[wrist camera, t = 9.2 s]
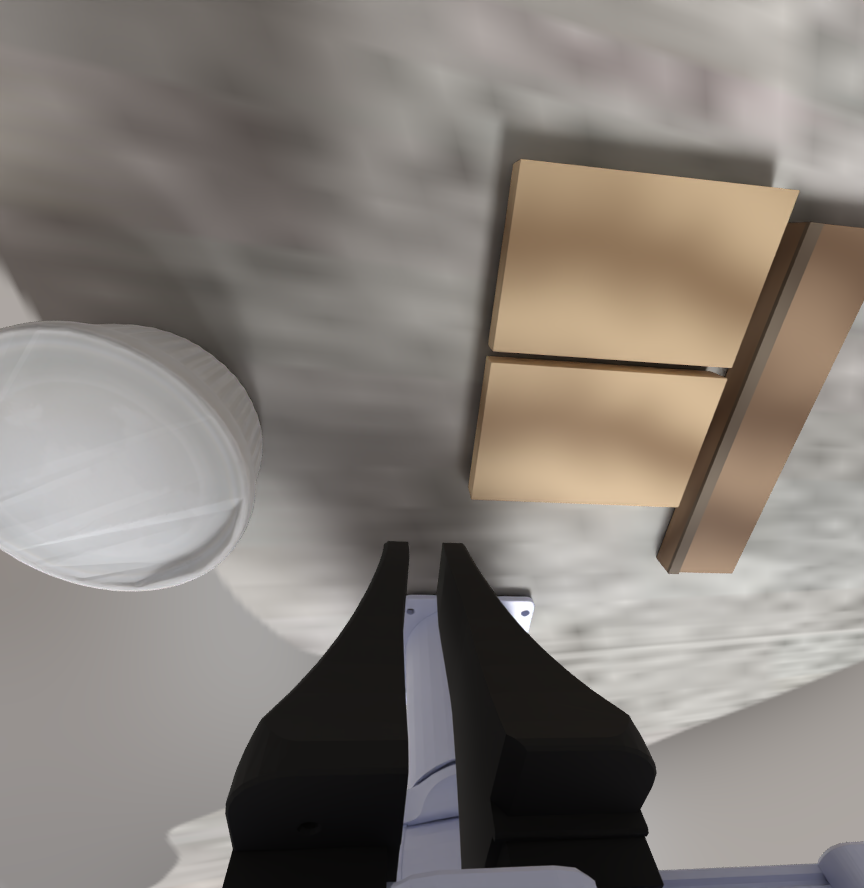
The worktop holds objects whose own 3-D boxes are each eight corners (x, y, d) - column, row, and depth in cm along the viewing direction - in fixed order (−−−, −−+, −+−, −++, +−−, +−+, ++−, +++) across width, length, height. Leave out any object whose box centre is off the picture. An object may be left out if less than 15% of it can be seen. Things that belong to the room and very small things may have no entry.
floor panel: (718, 559, 27) (733, 575, 25) (656, 557, 26) (668, 573, 25) (868, 231, 19) (900, 231, 18) (784, 222, 19) (811, 222, 17)
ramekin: (199, 556, 24) (149, 634, 20) (-13, 428, 20) (-138, 486, 16) (331, 423, 21) (310, 476, 17) (113, 243, 18) (6, 246, 13)
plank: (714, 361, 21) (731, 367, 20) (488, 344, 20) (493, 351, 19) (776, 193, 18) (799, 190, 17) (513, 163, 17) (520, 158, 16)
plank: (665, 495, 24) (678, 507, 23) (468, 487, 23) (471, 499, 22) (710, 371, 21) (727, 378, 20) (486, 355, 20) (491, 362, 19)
